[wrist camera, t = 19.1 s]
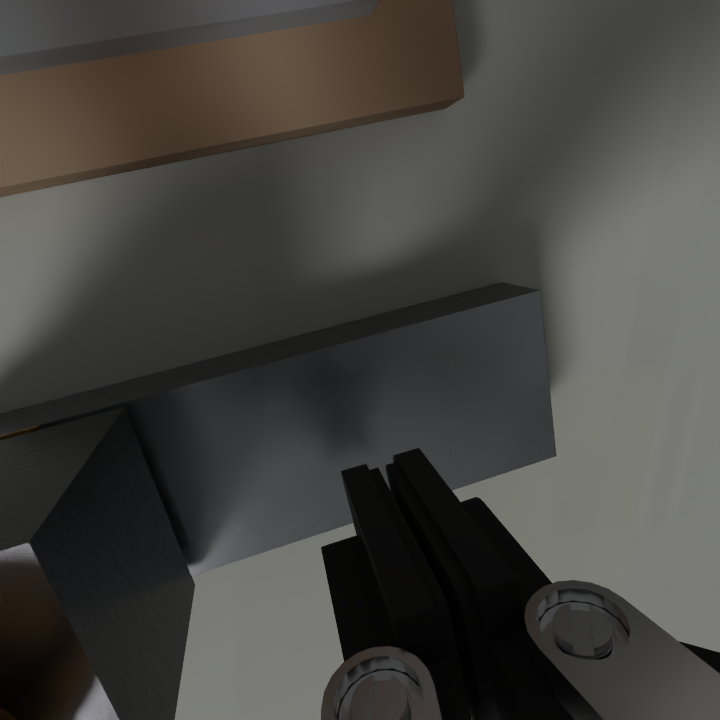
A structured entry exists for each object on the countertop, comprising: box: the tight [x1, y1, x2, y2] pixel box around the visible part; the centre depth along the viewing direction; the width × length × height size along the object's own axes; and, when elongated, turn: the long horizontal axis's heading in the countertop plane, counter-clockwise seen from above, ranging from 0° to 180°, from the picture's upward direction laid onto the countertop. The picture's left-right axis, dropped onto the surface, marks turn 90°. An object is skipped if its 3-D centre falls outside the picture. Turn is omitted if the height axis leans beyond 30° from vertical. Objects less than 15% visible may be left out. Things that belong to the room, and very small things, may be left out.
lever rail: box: [0, 283, 556, 576], centre depth 13 cm, size 15×5×2 cm, turn 102°
